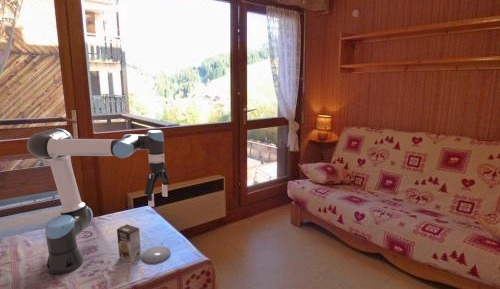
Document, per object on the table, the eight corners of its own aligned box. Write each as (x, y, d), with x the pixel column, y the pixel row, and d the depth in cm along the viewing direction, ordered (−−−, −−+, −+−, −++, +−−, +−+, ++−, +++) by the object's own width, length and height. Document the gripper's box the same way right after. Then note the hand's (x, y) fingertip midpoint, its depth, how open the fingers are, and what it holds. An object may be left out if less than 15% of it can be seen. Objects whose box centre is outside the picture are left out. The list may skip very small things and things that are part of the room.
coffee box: (118, 258, 148) (116, 229, 145) (129, 252, 154) (126, 223, 151) (131, 263, 144) (128, 233, 141) (141, 256, 150) (139, 227, 147)
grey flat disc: (138, 264, 144) (138, 262, 144) (145, 248, 157) (145, 246, 157) (167, 262, 145) (167, 261, 145) (172, 247, 159) (172, 245, 158)
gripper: (149, 168, 135) (151, 211, 139) (175, 156, 159) (176, 193, 163) (135, 167, 137) (137, 210, 141) (162, 155, 160) (163, 191, 165)
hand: (158, 201), depth 152 cm, fingers open, 13 cm apart
